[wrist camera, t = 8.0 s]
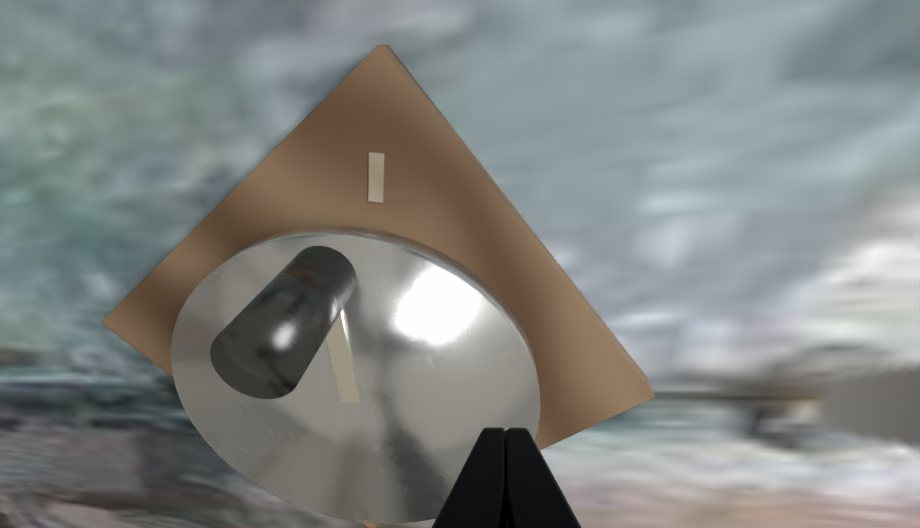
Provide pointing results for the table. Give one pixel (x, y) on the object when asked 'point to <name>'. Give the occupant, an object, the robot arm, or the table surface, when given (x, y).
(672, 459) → the table surface
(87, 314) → the table surface
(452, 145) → the base plate
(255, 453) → the handwheel
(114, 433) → the table surface
